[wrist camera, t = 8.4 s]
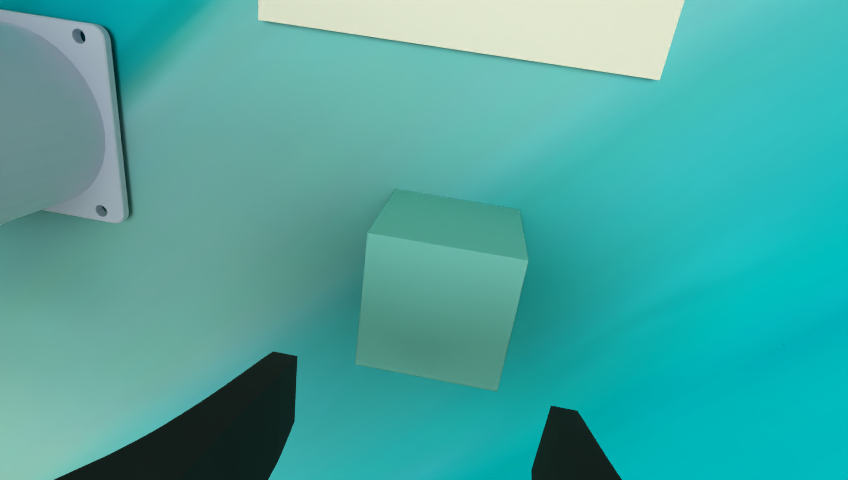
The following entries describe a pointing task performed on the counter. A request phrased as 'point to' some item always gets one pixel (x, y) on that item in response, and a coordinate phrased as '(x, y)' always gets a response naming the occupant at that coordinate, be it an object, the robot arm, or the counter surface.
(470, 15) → the board
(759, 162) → the counter surface
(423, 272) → the turquoise cube
